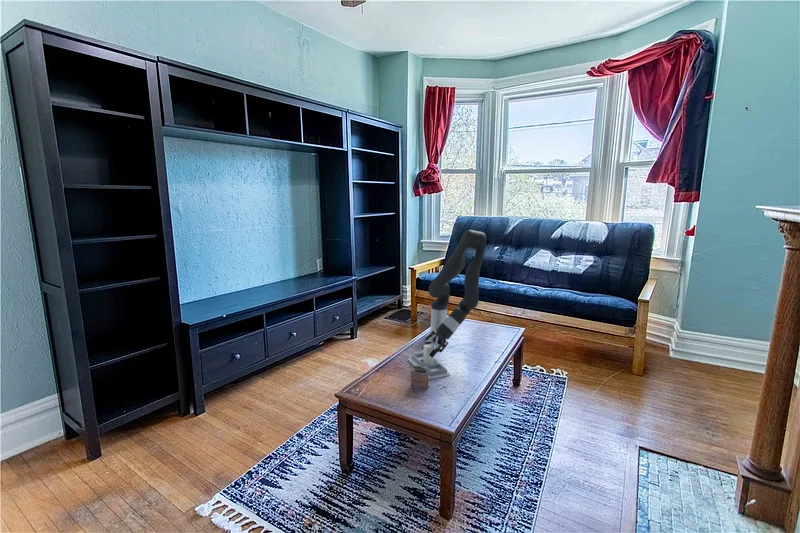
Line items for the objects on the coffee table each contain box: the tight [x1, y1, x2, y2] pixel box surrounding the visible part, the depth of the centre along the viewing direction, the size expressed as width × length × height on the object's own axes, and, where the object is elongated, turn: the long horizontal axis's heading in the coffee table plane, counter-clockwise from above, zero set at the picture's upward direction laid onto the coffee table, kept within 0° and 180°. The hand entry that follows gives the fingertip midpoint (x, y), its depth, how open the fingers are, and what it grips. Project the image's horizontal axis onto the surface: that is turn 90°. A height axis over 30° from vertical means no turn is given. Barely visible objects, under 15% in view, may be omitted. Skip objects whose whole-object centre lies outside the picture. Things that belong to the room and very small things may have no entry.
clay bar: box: [422, 343, 435, 365], centre depth 188 cm, size 4×4×10 cm
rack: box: [408, 351, 451, 380], centre depth 189 cm, size 22×12×3 cm, turn 22°
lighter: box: [410, 365, 430, 391], centre depth 169 cm, size 8×3×10 cm, turn 71°
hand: (426, 352), depth 187 cm, fingers open, 8 cm apart
